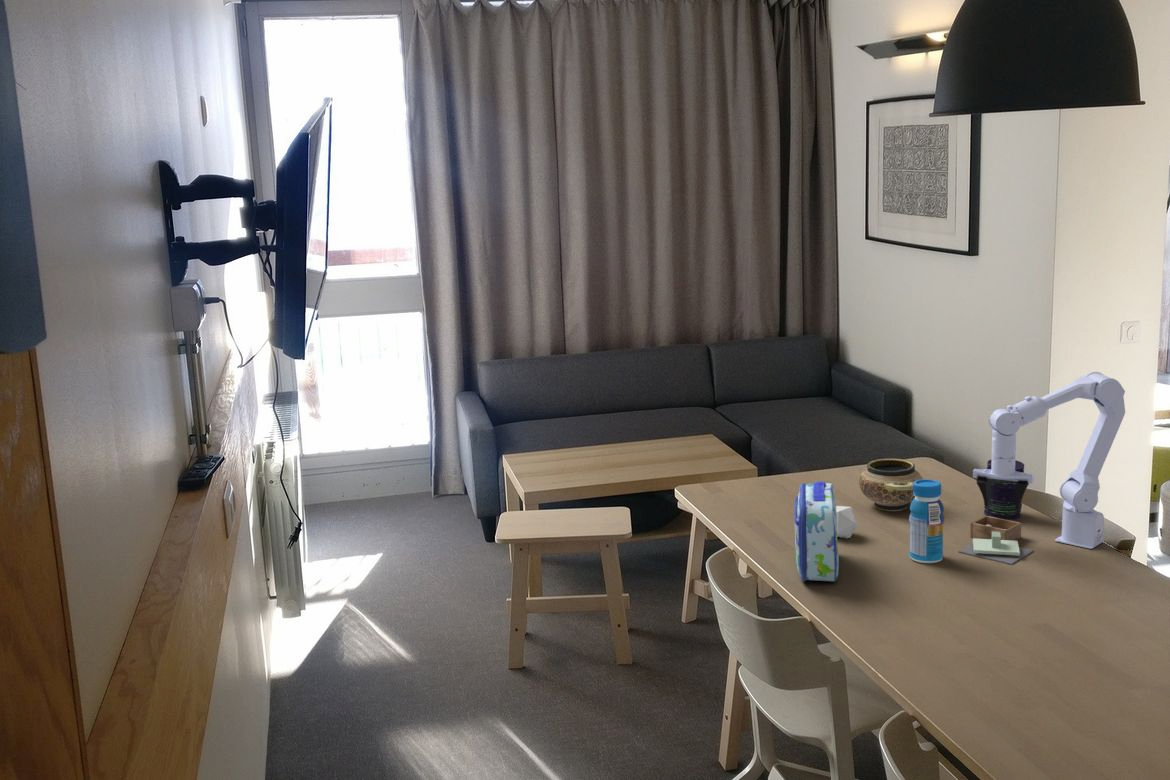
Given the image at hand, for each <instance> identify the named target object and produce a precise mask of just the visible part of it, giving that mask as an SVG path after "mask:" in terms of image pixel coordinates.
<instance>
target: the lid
mask: <svg viewBox="0 0 1170 780" xmlns="http://www.w3.org/2000/svg"><path fill="white" fill-rule="evenodd" d="M972 543H973V548H974V553H982V554H999V555H1017V556H1020V551H1019V542H1018V540H1016V541H1013V540H1001V535H1000V532H994V531H992V539H975V538H972Z"/></svg>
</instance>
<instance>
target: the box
mask: <svg viewBox="0 0 1170 780" xmlns="http://www.w3.org/2000/svg"><path fill="white" fill-rule="evenodd" d="M992 531H994V532H1000V535H1001V540H1013V541H1018V540H1019V539H1021V538H1022V522H1018V521H1015V520H1011V521H1010V520H1005V519H1000V518H995V517H990V516H986V515H983V516H982V517H980V518H978V519H976V520H974V521H972V522H970V538H972V539H973V538H975V539H992Z"/></svg>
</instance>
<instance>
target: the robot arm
mask: <svg viewBox="0 0 1170 780" xmlns="http://www.w3.org/2000/svg"><path fill="white" fill-rule="evenodd" d="M1125 392H1126V389H1124V387H1123V386H1122V384H1121V383H1120V381H1119V380H1117V379H1115V378H1111V377H1109V376H1107V375H1105V374H1103V373H1101V372H1099V371H1092V372H1090V373H1087V374H1086V375H1080V376H1079V377H1078V378H1076V379H1075V380H1073V381H1072V382H1069V383H1067V384H1066V385H1065V384H1064V386H1061V387H1060V388H1058V389H1056V390H1053V391H1052V392H1050V393H1048V394H1045V395H1043V396H1041V397H1038V396H1035V395H1033V396H1030V395H1027V396H1025V397H1024V400H1022V401H1019V402H1017V403H1015V404H1013V405H1011V404H1009V405H1006V408H997V409H996V410H994V411H993V412H992V413H991V414H990V417H989V418H988V423H989V426H990V427H991V428H992V431H991V432H992V433H991V435H992V436H991V459H992V462H991V469H987V468H974V469H973V470H972V478H974V479H976V481H975V482H976V485H977V486H978V488H979V490H980V493H981V496H982V499H983V505H984V504H985V505H984V506H988V505H989V485H990V479H998V480H1008V481H1018V483H1017V484H1016V510H1019V509H1020V506H1021V501H1023V498H1024V494H1025V493H1026V490H1027V489H1028V487H1029V484H1030V485H1031V484H1033V483H1034V481H1035V480H1034V477H1035V474H1033V473H1032V474H1031V473H1026V472H1024V473H1022V472H1017V471H1015V460H1016V447H1017V445H1016V443H1017V438H1016V437H1017V432H1018V431H1019V430H1020V428H1021V427H1024V426H1026V425H1028V424H1031V423H1033V422H1035V421H1037V420H1039V419H1041V418H1043V417H1046V414H1047V412H1048V410H1050V409H1053V408H1055V407H1058V406H1060V405H1063V404H1065V403H1068V402H1071V401H1073V400H1075V399H1085V400H1091V401H1093V402H1094V404H1095V406H1096V408H1097V409H1098V411H1099V415H1098V417H1097V419H1096V422H1095V424H1094V427H1093V429H1092V430H1091V431H1092V432H1091V434H1090V436H1089V439H1088V441H1087V444H1086V446H1085V448H1084V450H1083V453H1082V456H1081V458H1080V460H1079V462H1078V465H1077V467H1076V469H1073V470H1072V471H1071V472H1070V473H1069V474H1068V477H1067V478H1066V479H1065V480H1064V481H1063V482H1062V483H1061V485H1060V488H1059V495H1060V497H1061V498H1062V499H1063V504H1062V514H1061V515H1062V517H1061V518H1062V519H1061V535H1060V536H1058V537H1057V538H1055V540H1054V541H1055V542H1057V543H1062V544H1067V545H1071V546H1075V547H1080V548H1081V547H1082V548H1085V549H1089V550H1092V549H1094V548H1096V547H1097V546H1098V545H1100V544H1102V543H1103V542H1105V539H1104V531H1105V530H1104V529H1105V515H1104V514H1103V513H1102V512H1101V511H1097V510H1095V508H1096V506H1097V505H1098V503H1099V496H1098V495H1099V492H1100V488H1101V486H1100V485H1101V484H1100V479H1099V476H1100V474H1101V471H1102V469H1103V467H1104V464H1105V461H1106V460H1107V458H1108V454H1109V452H1110V451H1111V448H1112V446H1113V443H1114V440H1115V439H1116V436H1117V434H1118V432H1119V429H1120V427H1121V425H1122V422H1123V420H1124V418H1125V414H1126V406H1125V405H1126V404H1125V397H1124V396H1125V394H1126V393H1125Z"/></svg>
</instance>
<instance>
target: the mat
mask: <svg viewBox="0 0 1170 780" xmlns="http://www.w3.org/2000/svg"><path fill="white" fill-rule="evenodd" d="M1019 551H1020V556H1017V555H999V554H982V553H974V548H973V542H972V543H971V544H969V545H967V546H965V547H964V548H962V549H960V550H958V553H960V554H961V553H962V554H965V555H968V556H972V557H978V558H981V559H986V560H989V561H994V562H999V563H1001V564H1002V563H1003V564H1006V565H1011V566H1012V565H1014V564H1015V563H1016V562H1019V561H1020V560H1022V559H1024V558H1025V557H1026V556H1027V557H1028V556H1029V555H1030V554H1031V553H1033V552H1034V549H1030V548H1029V549H1028V548H1024V547H1019Z"/></svg>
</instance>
